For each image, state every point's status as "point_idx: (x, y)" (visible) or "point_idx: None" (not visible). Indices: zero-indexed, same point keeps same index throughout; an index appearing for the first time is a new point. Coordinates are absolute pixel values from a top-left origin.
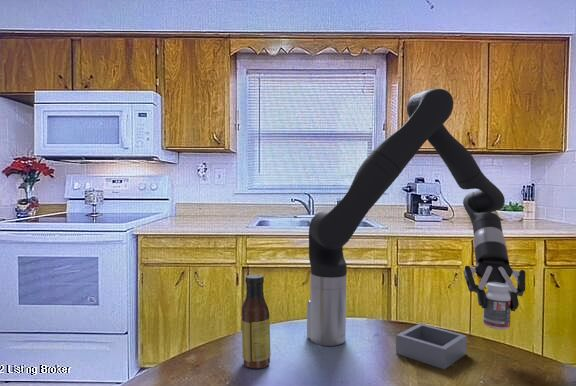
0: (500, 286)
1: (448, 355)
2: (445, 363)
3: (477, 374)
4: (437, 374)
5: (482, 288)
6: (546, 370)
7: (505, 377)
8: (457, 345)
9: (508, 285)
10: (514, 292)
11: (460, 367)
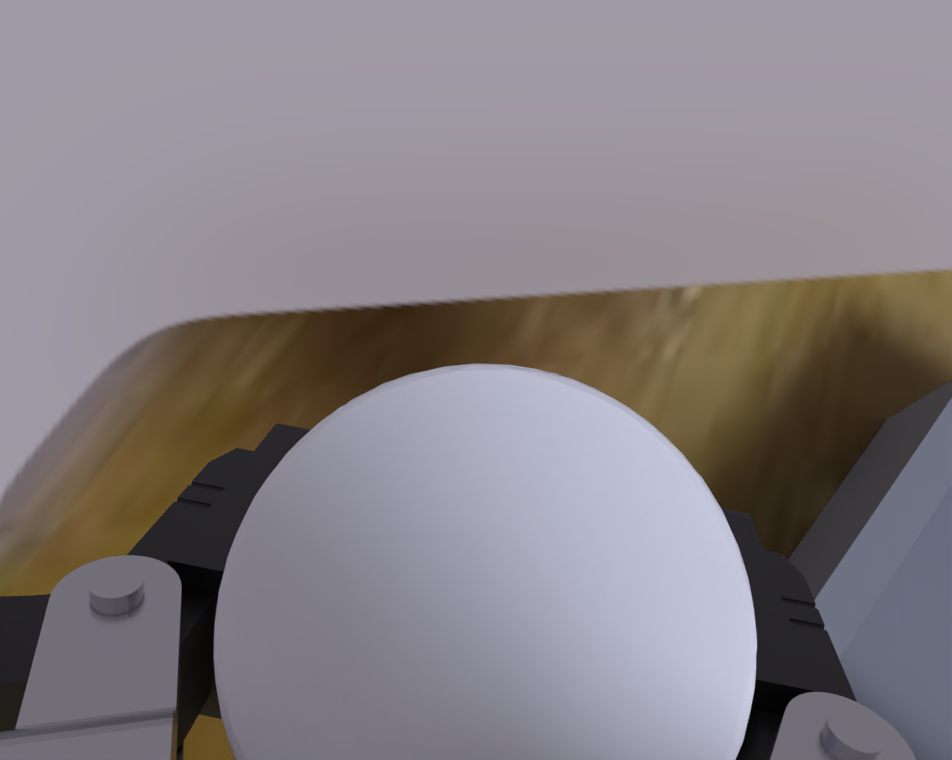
0: (524, 382)
1: (900, 438)
2: (900, 417)
3: (690, 369)
4: (936, 352)
5: (813, 710)
6: (197, 461)
7: (529, 342)
8: (830, 557)
9: (262, 511)
10: (151, 562)
11: (775, 461)
